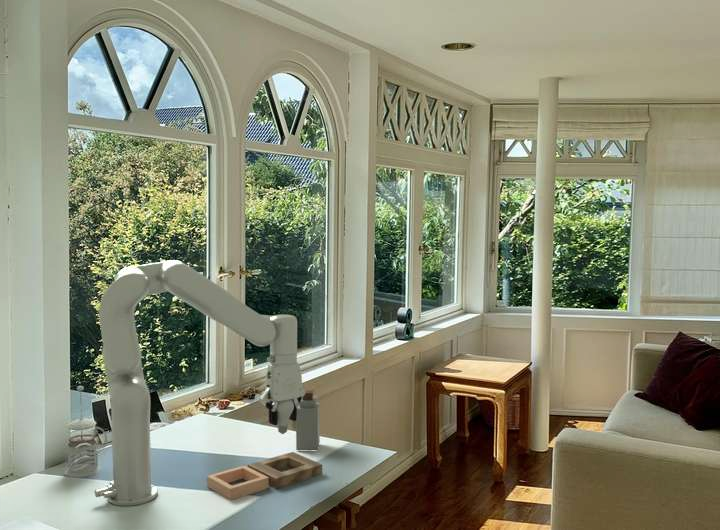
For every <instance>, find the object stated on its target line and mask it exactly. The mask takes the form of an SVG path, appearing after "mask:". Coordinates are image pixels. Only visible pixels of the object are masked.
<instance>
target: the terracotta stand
mask: <svg viewBox="0 0 720 530" xmlns="http://www.w3.org/2000/svg"><path fill="white" fill-rule="evenodd" d="M242 478H243V480H245V481H244V482H240V483H237V484H233V485H231V484H229V483H232V482H235V481H239V479H240V480H242ZM206 487H207V488H208V489H210V490H212V491H214V492H215V493H217V494H219V495H221V496H222V497H224V498H226V499H227V500H230V501H231V500H236V499H238V498H243V497H245V496H249V495H250V494H255V493H257V492H261V491H264V490H267V489H269V488H270V486H269V477H267V476H265V475H263V474H261V473H259V472H257V471H255V470H253V469H251V468H249V467H248V466H247V465H245V464H244V465H242V466H238V467H234V468H230V469H227V470H223V471H221V472H220V471H219V472H216V473H213V474H210V475H209V474H208V475H206Z"/></svg>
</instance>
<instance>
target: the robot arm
mask: <svg viewBox="0 0 720 530" xmlns="http://www.w3.org/2000/svg"><path fill="white" fill-rule="evenodd" d="M167 292H169V293H170V294H172V295H173V296H175V298H178V299H179V300H181V301H182V302H184V303H186V304H188V305H189V306H191V307H192V308H193V309H195V310H197V311H199V312H200V313H201V314H203V315H205V316H206V317H208V318H209V319H211V320H213V321H214V322H217V323H220V324H221V325H222V326H225V327H226V328H228V329H229V330H231V331H233V332H234V333H236V334H238V335H239V336H241V337H242V338H244V339H245V340H247V341H248V342H250V343H251V344H253V345H255V346H258V347H267V346H269V352H270V353H269V356H267V358H266V361H267V362H268V364H267V368H266V375H265V383H264V384H265V387H264V391H263V393H262V394H261V396H260V397H259V399H258V400H259V402H260V403H261V404H262V405H263V406H264V407H265V408H266V409H267V410H268V423H269V424H270V425H273V426H278V425H277V424H278V412H277V411H276V408H277V404H278V402H281V401H286V400H291V399H292V401H293V403H294V409H293V412H292V414H291V415H290V418H289V421H293V422H296V416H297V407H298V406H299V402H300V401H301V400H302V397H303V396H304V395H305V393H306V391H305V390H306V389H305V388H304V387H303V377H302V369H301V364H300V362H298V319H297V317H296V316H295V315H293V314H292V315H291V314H276V315H266V314H260V313H258V312H257V311H255V310H253V309H252V308H251V307H249V306H247V305H246V304H245V303H243V302H242V301H241V300H240V299H238V298H237V297H235V296H234V295H233V294H231V293H230V292H228V290H227V289H225V288H223V287H222V286H220V285H219V284H217V283H216V282H214V281H212V280H210V279H209V278H208V277H206V276H204V275H203V274H201V273H200V272H198V270H195V269H194V268H192V267H191V266H190V265H188V264H186V263H185V262H183V261H180V260H178V259H176V260H175V259H173V260H165V261H160V262H158V261H157V262H153V263H147V264H141V265H131V266H128V267H124V268H122V269H121V270H119V271H118V273H117V274H116V275H115V278H114V281H113V282H112V283H111V284H109V286H107V288H106V290H105V292H104V293H103V295H102V297H101V298H100V303H99V307H98V308H99V309H98V317H99V325H100V326H99V327H100V332H101V333H100V334H101V340H102V350H101V351H102V358H103V364H104V370H105V374H106V375H105V376H106V382H107V385H108V386H107V387H108V391H109V398H110V410H111V441H112V442H111V445H112V446H111V447H112V449H111V450H112V477H113V478H112V480H110V481H109V485H106V487H103V488H102V487H101V488H98V489H95V490H94V496H95V498H99V497H103V498H104V499H107V501H108V502H109V503H110V504H113V505H116V506H122V507H124V506H125V507H126V506H137V505H142V504H145V503H147V502H151V501H152V500H153V499H154V500H155V498H156V497H157V496H158V494H159V493H158V492H159V491H158V488H157V486H155V485H153V484H152V452H151V451H152V449H151V421H150V419H151V393H150V390H149V387H148V385H147V383H146V381H145V376H144V370H143V364H142V349H141V347H140V343H139V340H138V333H137V326H136V319H135V309H136V307H137V305H138V304H139V303H140V302H141V301H143V300H144V299H145V298H146V297H147V296H151V295H157V294H162V293H167ZM272 404H273V405H272Z"/></svg>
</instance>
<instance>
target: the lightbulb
mask: <svg viewBox="0 0 720 530" xmlns="http://www.w3.org/2000/svg"><path fill="white" fill-rule="evenodd" d="M272 405H273V404H272ZM293 409H294V403H293V401H292V399H291V400H286V401H281V402H278V404H277V408H276V411H277V412H278V424H277V425H276V426H277V431H278V433H280V434H281V435H284V434H286V433H287V432H288V425H289V423H290V422H289V421H290V419H289V418H290V415H291V414H292V412H293Z"/></svg>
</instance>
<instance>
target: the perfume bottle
mask: <svg viewBox="0 0 720 530" xmlns="http://www.w3.org/2000/svg"><path fill="white" fill-rule="evenodd" d="M304 390H305V391H306V393H305V395H304V396H303V397H302V400H301V401H300V402H299V406H298V407H297V416H296V421H295V437H296V438H295V442H296V443H295V447H296V449H295V450H318V451H319V449H318V447H319V448H320V445H319V443H321V440H320V438H321V437H320V434H321V433H320V430H321V429H320V402H317V400H318V399H317V398H318V396H314V390H313V389H311V390H309V389H307V390H306V389H304Z"/></svg>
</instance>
